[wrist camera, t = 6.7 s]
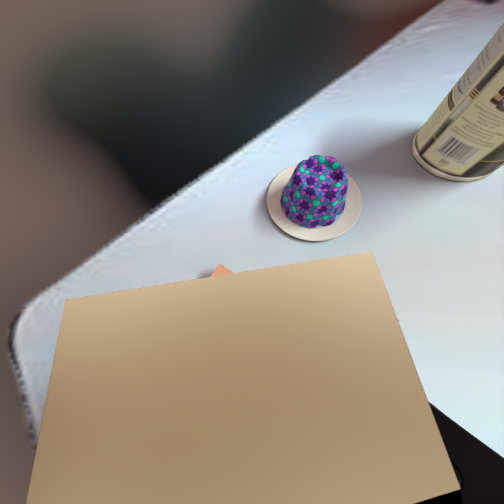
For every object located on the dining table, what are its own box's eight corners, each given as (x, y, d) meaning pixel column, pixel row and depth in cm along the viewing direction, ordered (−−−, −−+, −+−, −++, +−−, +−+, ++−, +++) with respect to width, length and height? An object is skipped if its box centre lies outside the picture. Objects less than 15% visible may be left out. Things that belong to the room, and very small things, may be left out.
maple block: (307, 380, 13) (642, 977, 1) (235, 389, 13) (-63, 957, 1) (292, 305, 15) (371, 252, 3) (228, 314, 15) (66, 299, 3)
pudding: (374, 186, 25) (399, 154, 20) (334, 260, 23) (352, 244, 18) (293, 154, 28) (298, 119, 23) (249, 216, 26) (244, 192, 21)
